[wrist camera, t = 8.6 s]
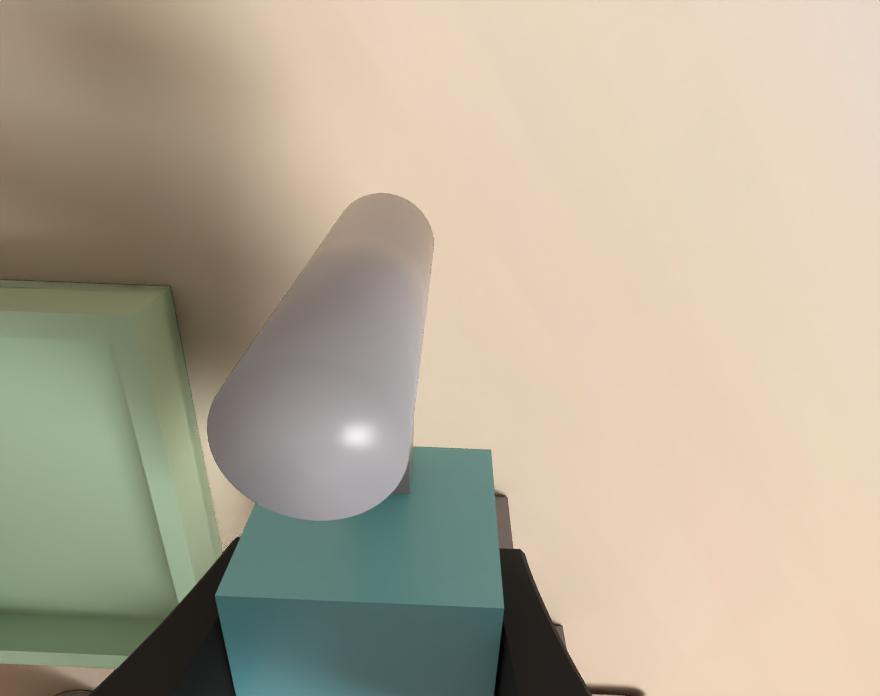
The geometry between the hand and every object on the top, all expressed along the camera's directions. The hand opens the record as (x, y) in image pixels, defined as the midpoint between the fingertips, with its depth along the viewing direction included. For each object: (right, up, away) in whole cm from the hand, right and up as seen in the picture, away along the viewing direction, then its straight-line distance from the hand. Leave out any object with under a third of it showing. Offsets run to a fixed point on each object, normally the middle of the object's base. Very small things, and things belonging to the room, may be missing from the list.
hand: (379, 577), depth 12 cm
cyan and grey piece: (0, +2, +1) cm, 2 cm away
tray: (-12, 0, +9) cm, 15 cm away
